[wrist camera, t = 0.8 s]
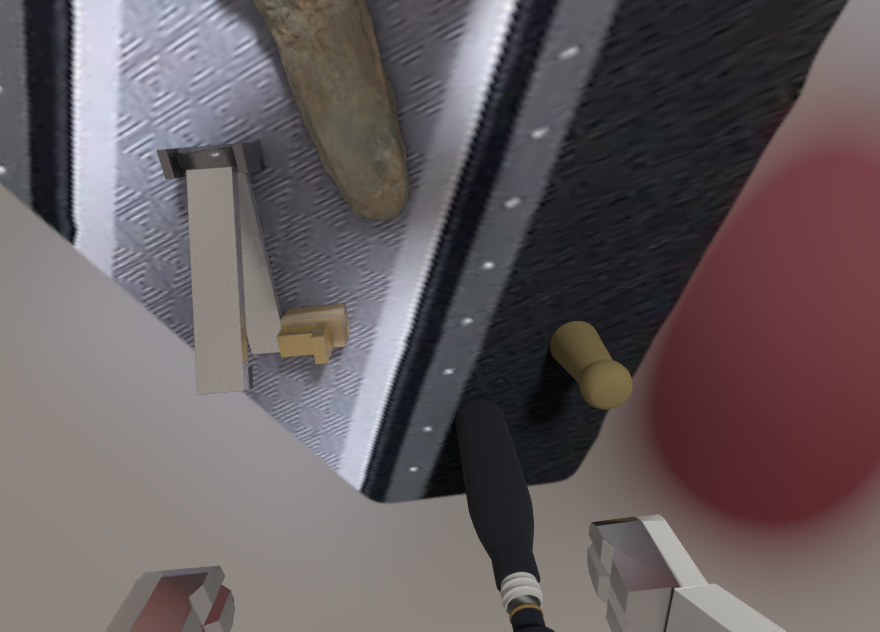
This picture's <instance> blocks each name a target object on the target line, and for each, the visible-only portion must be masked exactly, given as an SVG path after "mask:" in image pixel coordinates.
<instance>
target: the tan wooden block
mask: <svg viewBox="0 0 880 632" xmlns="http://www.w3.org/2000/svg"><path fill="white" fill-rule="evenodd" d="M327 321H329V324H330V329H331V335H332V340H333V345H334V347H344V346H346V344H347V341H348V337H349V334H350V329H349V323H348V317H347V311H346V305H345V304H334V305H322V306H310V307H299V308H288V310H287V311H286V313H285V314H284V316H283V317H282V319H281V320H280V325H281V328H289V327H300V326H312V325H316V324H317V322H327Z"/></svg>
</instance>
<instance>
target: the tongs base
mask: <svg viewBox="0 0 880 632" xmlns="http://www.w3.org/2000/svg"><path fill="white" fill-rule="evenodd" d="M227 145H231V144H227ZM213 146H217V145H213ZM200 147H203V146H200ZM232 147H233V151H234V155H235V159H236V163H237V168H238V172H237V173H238V190H239V208H240V226H241V243H242V261H243V279H244V296H245V314H246V332H247V337H248V341H249V345H250V348H251V352H252V355H253V354H264V353H275V352H280V350H279V346H278V342H277V338H276V336H277V335H278V333H279V331H280V330H281V325H280V320H281V319H282V317H283V314H282V310H281V306H280V301H279V297H278V293H277V289H276V284H275V280H274V276H273V272H272V267H271V263H270V259H269V255H268V250H267V246H266V242H265V238H264V233H263V229H262V225H261V221H260V216H259V212H258V208H257V204H256V199H255V195H254V191H253V187H252V182H251V178H250V174H249V173H250V172H253V171H257V170H260V169H264V168H265V167H264V162H263V158H262V153H261V149H260V144H259V142H254V143H241V144H233V145H232ZM186 148H190V147H186ZM179 149H180V148H175V149H163V150H157V153H158V156H159V159H160V163H161V166H162V169H163V172H164V175H165V179H175V178H179V177H184V176H186V175H185V174H184V173H183V172H182V170H181V168H180V166H179V163H178V158H177V153H178V150H179Z"/></svg>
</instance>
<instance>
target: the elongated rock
mask: <svg viewBox="0 0 880 632" xmlns="http://www.w3.org/2000/svg"><path fill="white" fill-rule="evenodd" d="M253 3H254V6H255V8H256V9H257V11H258V12H259V14H260V15H261V16H262V18H263V20H264V23H265V24H266V26H267V27H268V30H269V32H270V33H271V35H272V37H273V39H274V41H275V43H276V45H277V47H278V50H279V54H280V58H281V60H282V66H283V67H284V70H285V73H286V76H287V79H288V82H289V85H290V88H291V90H292V92H293V94H294V99H295V103H296V105H297V107H298V110H299V113H300V114H301V118H302V120H303V123H304V125H305V127H306V128H307V129H308V131H309V133H310V137H311V139H312V141H313V142H314V144H315V145H316V146H317V148H318V155H319V157H320V160H321V162H322V164H323V168H324V170H325V171H326V172H327V174H328V175H331V177H332V179H333V181H334V183H335V185H336V186H337V188H338V189H339V190H340V192H341V194H342V196H343V200H344V201H345V202H347V203H348V205H349V207H350V209H351V210H352V212H353V213H354V214H355V216H357V217H360V218H362V217H364V215H365V217H366V218H373V219H377V220H382V221H385V220H387V219H388V220H389V219H392V218H397V216H398V215H399V213H400V211H401V209H402V208H403V207H404V206H405V204H406V201H407V200H408V190H409V179H410V176H409V175H408V173H407V169H406V168H407V166H406V150H407V148H406V146H405V142H404V139H403V137H402V133H401V130H400V123H399V121H398V119H397V102H396V99H397V98H396V91H395V89H394V88H393V87H392V82H391V81H390V79H389V78H388V76H387V71H386V70H385V69H384V67H383V65H382V62H381V56H380V51H379V48H378V44H377V39H376V36H375V32H374V29H373V21H372V18H371V15H370V12H369V11H368V8H367V4H366V1H365V0H253Z"/></svg>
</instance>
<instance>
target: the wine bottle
mask: <svg viewBox="0 0 880 632" xmlns="http://www.w3.org/2000/svg"><path fill="white" fill-rule="evenodd" d="M455 424H456V430H457V437H458V443H459V450H460V456H461V463H462V470H463V476H464V483H465V489H466V496H467V502H468V509H469V513H470V516H471V519H472V522H473V525H474V528H475V530H476V533H477V535H478V538H479V539H480V541H481V543H482V545H483V546H484V548H485V550H486V551H487V553H488V555H489V557H490V558H491V560H492V565H493V571H494V576H495V581H496V585H497V589H498V590H499V591H500V594H501V597H502V603H503V606H504V608H505V609H506V612H507V613H508V614H509V615H510V616H509V617H510V622H511V624H512V627H513V632H555V631H553V630H552V629H549V628H547V627H546V626H545V623H544V619H543V612H542V609H541V608H542V604H543V603H542V599H543V596H542V592H541V591H540V585H539V582H540V576H539V572H538V569H537V565H536V562H535V558H534V555H533V551H532V549H533V536H534V518H533V508H532V502H531V497H530V494H529V491H528V488H527V485H526V481H525V478H524V475H523V472H522V469H521V466H520V463H519V460H518V457H517V454H516V451H515V448H514V445H513V442H512V439H511V435H510V432H509V429H508V426H507V423H506V420H505V417H504V414H503V411H502V410H501V408H500V407H499V405H497V404H496V403H494V402H493V401H490V400H486V399H477V400H473V401H470V402H468V403H466V404H464V405H463V406H462V407H461V408H460V409H459V411H458V413H457V415H456V420H455Z"/></svg>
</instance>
